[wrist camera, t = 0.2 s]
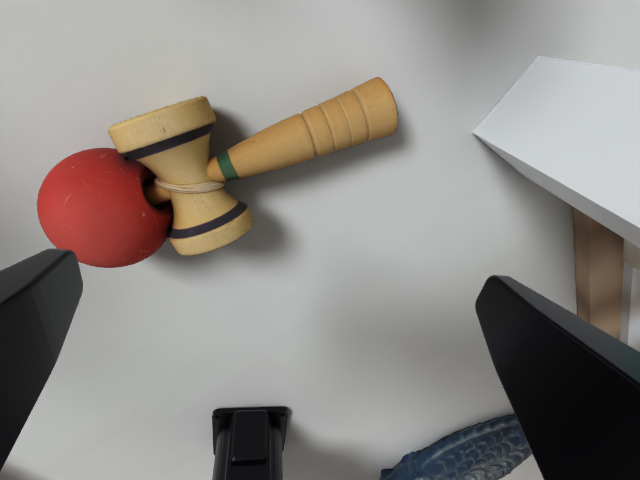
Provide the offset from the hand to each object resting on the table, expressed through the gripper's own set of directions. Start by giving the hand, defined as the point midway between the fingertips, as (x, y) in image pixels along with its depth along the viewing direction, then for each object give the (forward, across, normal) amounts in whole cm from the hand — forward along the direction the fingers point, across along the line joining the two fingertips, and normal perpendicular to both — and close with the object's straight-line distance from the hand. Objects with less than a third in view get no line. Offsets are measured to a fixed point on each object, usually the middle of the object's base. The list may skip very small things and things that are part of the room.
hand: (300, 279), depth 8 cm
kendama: (+15, +3, +3) cm, 15 cm away
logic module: (+14, -15, -1) cm, 21 cm away
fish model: (+13, -22, +33) cm, 42 cm away
